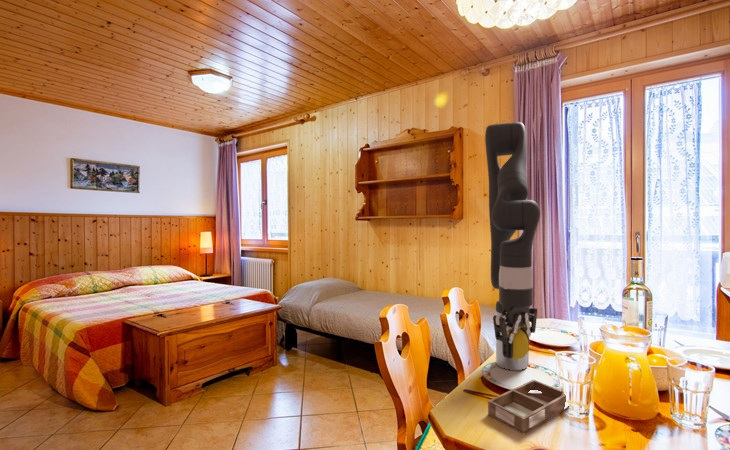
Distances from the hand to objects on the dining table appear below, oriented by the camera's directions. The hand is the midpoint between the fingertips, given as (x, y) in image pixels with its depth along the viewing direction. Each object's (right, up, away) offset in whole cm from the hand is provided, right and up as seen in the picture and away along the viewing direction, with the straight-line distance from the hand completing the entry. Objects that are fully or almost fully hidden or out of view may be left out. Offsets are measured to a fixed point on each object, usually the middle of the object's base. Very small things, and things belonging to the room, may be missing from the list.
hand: (516, 354), depth 91 cm
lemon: (0, -2, 0) cm, 2 cm away
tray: (+5, -15, +3) cm, 16 cm away
